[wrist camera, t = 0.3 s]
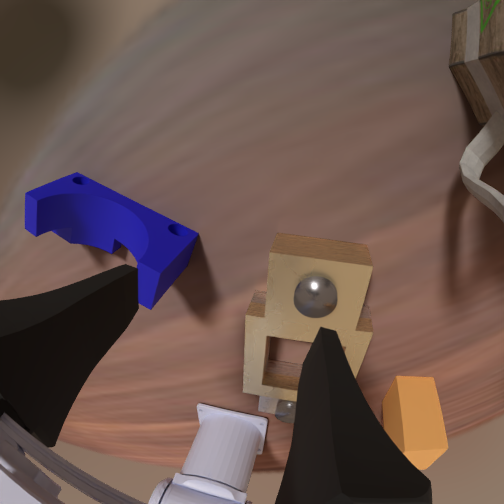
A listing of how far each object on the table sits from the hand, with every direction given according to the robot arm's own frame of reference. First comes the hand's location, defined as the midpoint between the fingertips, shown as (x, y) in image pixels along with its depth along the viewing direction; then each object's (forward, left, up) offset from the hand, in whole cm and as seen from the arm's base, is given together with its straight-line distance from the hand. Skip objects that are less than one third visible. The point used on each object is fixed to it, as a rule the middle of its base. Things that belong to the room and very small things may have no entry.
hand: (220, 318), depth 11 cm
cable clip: (-1, +11, -10) cm, 15 cm away
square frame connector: (-9, -4, -10) cm, 14 cm away
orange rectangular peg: (-14, -15, -10) cm, 23 cm away
